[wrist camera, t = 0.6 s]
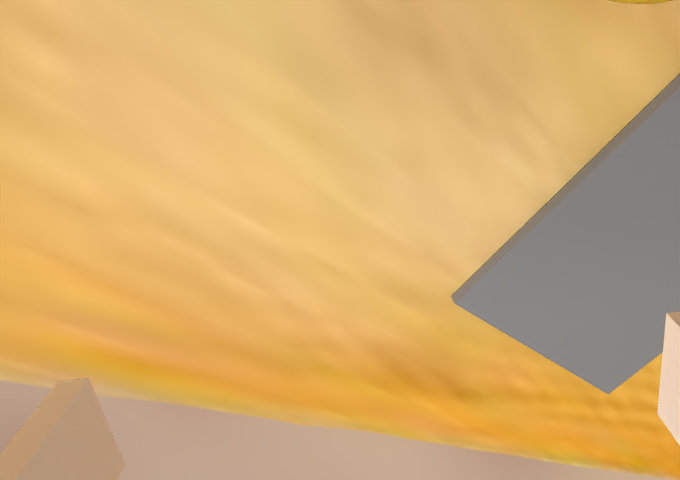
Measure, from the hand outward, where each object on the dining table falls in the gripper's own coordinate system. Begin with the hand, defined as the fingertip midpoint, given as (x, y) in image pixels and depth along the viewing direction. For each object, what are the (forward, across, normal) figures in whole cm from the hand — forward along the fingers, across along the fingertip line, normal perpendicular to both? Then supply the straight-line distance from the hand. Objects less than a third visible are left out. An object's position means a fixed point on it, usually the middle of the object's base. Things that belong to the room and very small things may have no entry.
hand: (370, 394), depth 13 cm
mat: (+19, +15, -8) cm, 25 cm away
